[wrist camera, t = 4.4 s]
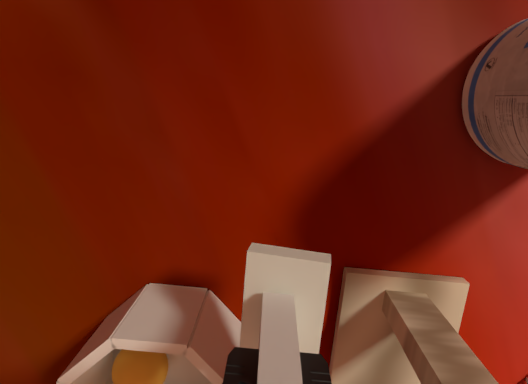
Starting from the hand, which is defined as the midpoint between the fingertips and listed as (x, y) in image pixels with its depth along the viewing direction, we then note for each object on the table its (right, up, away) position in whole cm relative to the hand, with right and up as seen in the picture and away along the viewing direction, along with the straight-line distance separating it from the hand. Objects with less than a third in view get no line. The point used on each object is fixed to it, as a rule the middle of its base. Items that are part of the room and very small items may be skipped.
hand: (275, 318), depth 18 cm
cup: (-8, -7, +12) cm, 16 cm away
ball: (-10, -7, +10) cm, 15 cm away
